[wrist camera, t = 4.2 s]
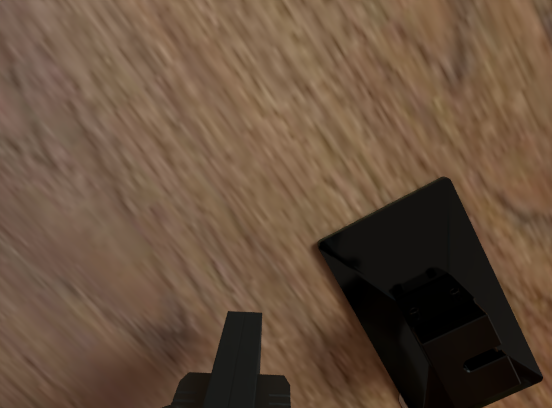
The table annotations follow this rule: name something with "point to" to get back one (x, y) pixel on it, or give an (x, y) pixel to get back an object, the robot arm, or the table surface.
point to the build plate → (431, 302)
